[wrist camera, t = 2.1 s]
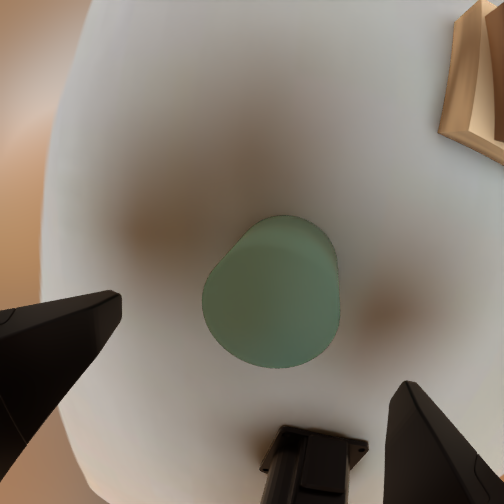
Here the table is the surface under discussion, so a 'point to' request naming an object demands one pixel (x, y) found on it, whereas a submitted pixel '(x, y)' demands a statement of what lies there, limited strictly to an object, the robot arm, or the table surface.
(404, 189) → the table surface
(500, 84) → the tower top
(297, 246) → the sage green cylinder
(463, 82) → the tower base
